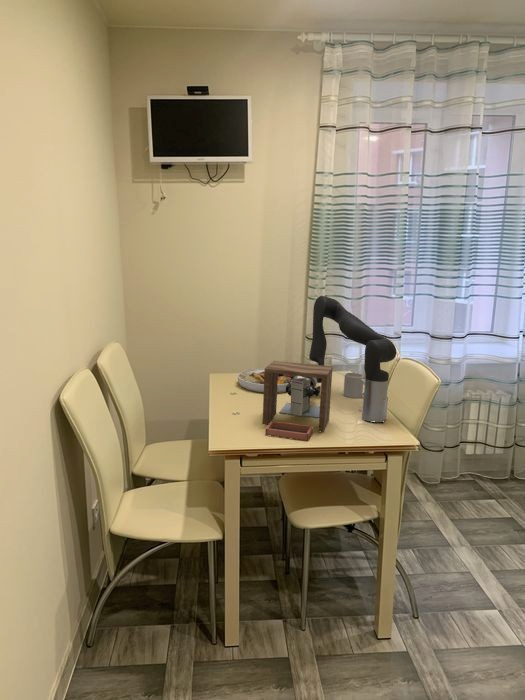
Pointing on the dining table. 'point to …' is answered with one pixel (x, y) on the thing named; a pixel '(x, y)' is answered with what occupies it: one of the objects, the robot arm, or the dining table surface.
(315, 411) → the pad
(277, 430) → the tray
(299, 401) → the syrup box
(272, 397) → the walnut tunnel
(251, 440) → the dining table surface
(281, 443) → the dining table surface
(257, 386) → the bowl
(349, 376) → the mug
